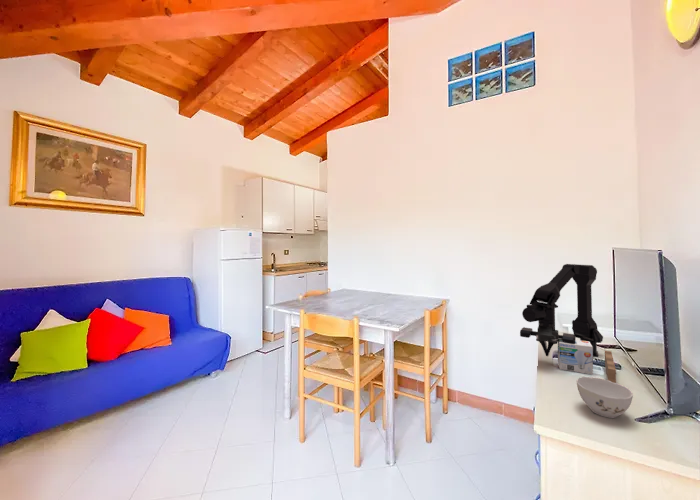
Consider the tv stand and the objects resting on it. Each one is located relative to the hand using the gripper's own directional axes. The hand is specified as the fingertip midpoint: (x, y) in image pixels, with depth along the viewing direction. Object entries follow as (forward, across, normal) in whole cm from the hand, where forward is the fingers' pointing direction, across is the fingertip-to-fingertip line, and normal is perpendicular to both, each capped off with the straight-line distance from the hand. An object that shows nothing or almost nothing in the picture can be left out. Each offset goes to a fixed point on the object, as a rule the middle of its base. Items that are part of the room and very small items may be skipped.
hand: (547, 355), depth 119 cm
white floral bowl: (+3, +17, -30) cm, 34 cm away
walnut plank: (+3, +20, 0) cm, 20 cm away
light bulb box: (+3, +9, 0) cm, 10 cm away
